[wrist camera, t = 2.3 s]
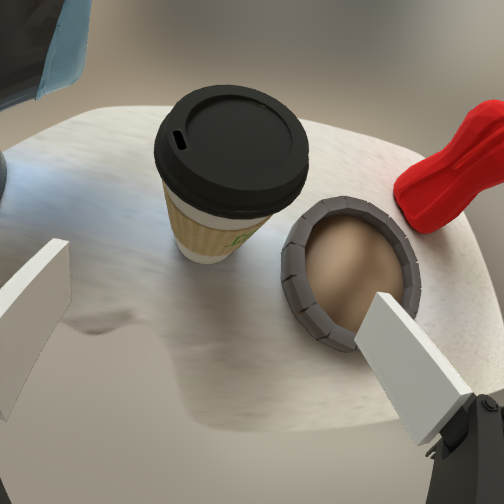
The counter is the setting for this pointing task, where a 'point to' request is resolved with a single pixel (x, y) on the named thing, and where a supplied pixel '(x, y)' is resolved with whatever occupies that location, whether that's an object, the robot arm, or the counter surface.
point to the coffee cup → (228, 167)
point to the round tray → (346, 268)
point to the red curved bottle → (455, 171)
